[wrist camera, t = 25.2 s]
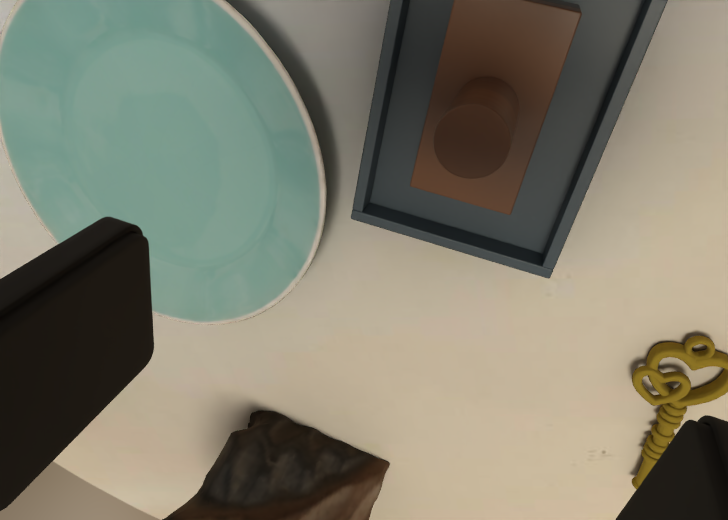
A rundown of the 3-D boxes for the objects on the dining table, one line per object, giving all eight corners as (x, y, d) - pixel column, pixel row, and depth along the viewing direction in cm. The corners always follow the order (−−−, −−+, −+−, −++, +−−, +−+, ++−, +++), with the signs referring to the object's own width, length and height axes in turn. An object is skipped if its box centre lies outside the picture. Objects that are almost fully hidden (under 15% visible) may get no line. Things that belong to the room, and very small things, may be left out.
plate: (76, 281, 43) (48, 300, 41) (-23, -43, 33) (-68, -43, 30) (347, 327, 38) (332, 352, 35) (334, -48, 27) (313, -48, 25)
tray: (418, -96, 25) (408, -100, 23) (676, -44, 23) (686, -44, 21) (361, 204, 33) (350, 219, 31) (550, 260, 31) (549, 279, 29)
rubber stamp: (469, -20, 25) (434, -8, 18) (579, 5, 24) (588, 27, 17) (423, 163, 30) (382, 230, 23) (515, 189, 29) (501, 266, 22)
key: (679, 504, 35) (595, 482, 36) (675, 488, 36) (593, 467, 37) (754, 353, 29) (650, 333, 30) (746, 339, 30) (647, 320, 31)
